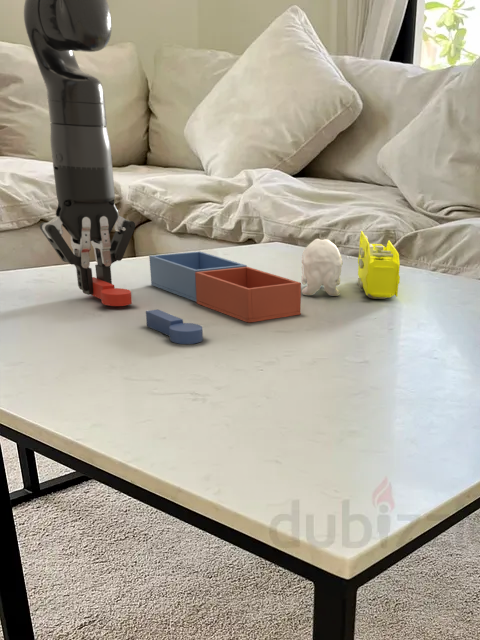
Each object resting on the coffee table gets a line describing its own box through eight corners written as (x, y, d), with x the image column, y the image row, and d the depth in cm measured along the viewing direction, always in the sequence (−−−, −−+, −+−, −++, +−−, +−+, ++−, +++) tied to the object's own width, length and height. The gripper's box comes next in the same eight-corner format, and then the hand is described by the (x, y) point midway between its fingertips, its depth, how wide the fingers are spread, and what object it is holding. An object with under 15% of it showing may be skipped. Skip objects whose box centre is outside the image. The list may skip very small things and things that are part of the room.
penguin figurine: (302, 239, 117) (298, 234, 128) (302, 297, 120) (297, 288, 131) (344, 241, 118) (336, 236, 129) (342, 298, 121) (335, 289, 132)
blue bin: (196, 302, 115) (194, 270, 113) (151, 285, 123) (149, 255, 120) (247, 295, 121) (247, 265, 119) (201, 279, 128) (200, 251, 126)
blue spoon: (181, 346, 95) (180, 329, 94) (139, 327, 101) (137, 311, 100) (209, 341, 98) (208, 325, 97) (166, 323, 104) (165, 308, 103)
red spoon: (110, 307, 107) (109, 292, 106) (76, 292, 113) (74, 278, 112) (137, 304, 109) (136, 289, 108) (102, 290, 115) (101, 276, 114)
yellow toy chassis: (354, 279, 137) (357, 229, 133) (387, 280, 137) (390, 230, 133) (363, 300, 123) (366, 245, 119) (398, 302, 123) (402, 247, 119)
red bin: (248, 322, 106) (247, 289, 104) (196, 303, 114) (195, 272, 112) (300, 314, 112) (301, 282, 110) (248, 296, 120) (247, 266, 118)
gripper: (116, 159, 111) (126, 283, 119) (19, 158, 103) (37, 292, 111) (143, 165, 107) (152, 293, 115) (44, 164, 98) (61, 303, 106)
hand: (95, 292), depth 113 cm, fingers closed on red spoon, 2 cm apart
